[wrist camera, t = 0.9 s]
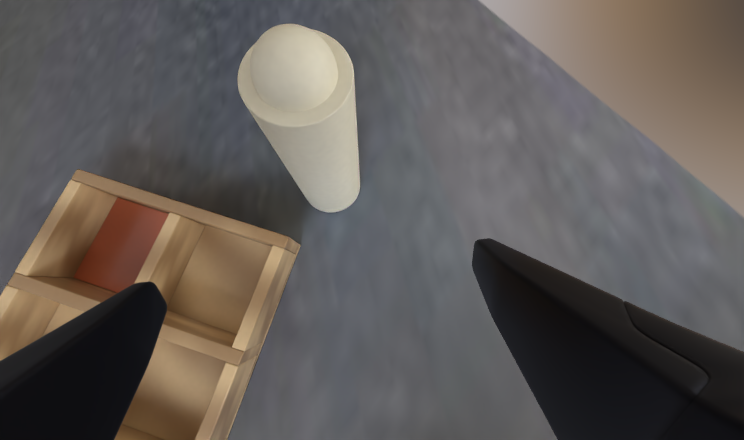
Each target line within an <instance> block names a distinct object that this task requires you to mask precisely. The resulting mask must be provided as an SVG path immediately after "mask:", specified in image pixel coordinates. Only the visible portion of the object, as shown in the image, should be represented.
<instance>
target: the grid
mask: <svg viewBox="0 0 744 440" xmlns="http://www.w3.org/2000/svg"><path fill="white" fill-rule="evenodd" d="M300 246H301V245H300V244H298V243H297V242H295V241H294V240H293V239H291V238H290V237H288V236H285V235H282V234H279V233H276V232H273V231H269V230H266V229H263V228H260V227H257V226H254V225H251V224H248V223H245V222H241V221H238V220H235V219H232V218H229V217H226V216H223V215H220V214H217V213H214V212H210V211H207V210H204V209H201V208H198V207H195V206H192V205H189V204H186V203H182V202H179V201H176V200H173V199H170V198H167V197H164V196H161V195H158V194H155V193H151V192H148V191H145V190H142V189H139V188H136V187H133V186H130V185H127V184H123V183H120V182H117V181H114V180H111V179H108V178H105V177H102V176H99V175H95V174H92V173H89V172H86V171H83V170H80V169H77V170H76V172H75V173H74V175H73V177H72V180H70V181H69V183H68V184H67V186H66V188H65V189H64V191H63V193H62V194H61V196H60V198H59V199H58V201H57V203H56V204H55V206H54V208H53V209H52V211H51V213H50V214H49V216H48V218H47V219H46V221H45V223H44V224H43V226H42V228H41V229H40V231H39V233H38V234H37V236H36V237H35V239H34V241H33V242H32V244H31V246H30V247H29V249H28V251H27V252H26V254H25V256H24V257H23V259H22V261H21V262H20V264H19V266H18V267H17V269H16V271H15V272H16V273H14V274H13V276H12V278H11V279H10V281H9V283H8V285H7V286H6V287H5V289H4V291H3V292H2V294H1V295H0V361H1V360H3V359H5V358H6V357H8V356H10V355H11V354H13V353H15V352H17V351H18V350H20V349H22V348H24V347H25V346H27V345H29V344H30V343H32V342H34V341H36V340H37V339H39V338H41V337H43V336H44V335H46V334H48V333H49V332H51V331H53V330H55V329H56V328H58V327H60V326H62V325H63V324H65V323H67V322H68V321H70V320H72V319H74V318H75V317H77V316H79V315H81V314H82V313H84V312H86V311H87V310H89V309H91V308H93V307H94V306H96V305H98V304H100V303H101V302H103V301H105V300H106V299H108V298H110V297H112V296H113V295H115V294H117V293H119V292H120V291H122V290H124V289H125V288H127V287H129V286H131V285H132V284H135V283H140V282H148V281H150V282H153V283H155V284H156V286H157V287H158V289H159V291H160V293H161V294H162V296H163V298H164V299H165V301H166V303H167V313H166V316H165V318H164V321H163V324H162V327H161V330H160V333H159V336H158V339H157V342H156V345H155V348H154V351H153V353H152V356H151V359H150V362H149V364H148V367H147V369H146V371H145V374H144V376H143V378H142V380H141V382H140V385H139V387H138V389H137V391H136V393H135V396H134V398H133V400H132V402H131V404H130V407H129V409H128V411H127V413H126V415H125V417H124V420H123V422H122V424H121V426H120V428H119V431H118V433H117V435H116V437H115V439H114V440H227V438H228V436H229V433H230V430H231V428H232V425H233V423H234V420H235V417H236V415H237V412H238V409H239V407H240V404H241V401H242V399H243V396H244V394H245V391H246V388H247V386H248V383H249V380H250V378H251V375H252V373H253V370H254V367H255V365H256V362H257V359H258V357H259V354H260V351H261V349H262V346H263V344H264V341H265V338H266V336H267V333H268V330H269V328H270V325H271V322H272V320H273V317H274V315H275V312H276V309H277V307H278V304H279V301H280V299H281V296H282V293H283V291H284V288H285V286H286V283H287V280H288V278H289V275H290V272H291V270H292V267H293V265H294V262H295V259H296V257H297V254H298V251H299V249H300Z"/></svg>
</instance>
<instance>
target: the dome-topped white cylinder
mask: <svg viewBox="0 0 744 440" xmlns="http://www.w3.org/2000/svg"><path fill="white" fill-rule="evenodd" d="M238 88H239V93H240V95H241V98H242V100H243V102H244V103H245V105H246V107H247V108H248V110H249V111H250V113H251V114H252V116H253V117H254V119H255V120H256V122H257V123H258V125H259V127H260V128H261V130H262V131H263V133H264V134H265V136H266V137H267V139H268V140H269V142H270V143H271V145H272V147H273V148H274V150H275V151H276V153H277V154H278V156H279V157H280V159H281V160H282V162H283V163H284V165H285V167H286V168H287V170H288V171H289V173H290V174H291V176H292V177H293V179H294V180H295V182H296V183H297V185H298V187H299V188H300V190H301V191H302V193H303V194H304V196H305V197H306V199H307V200H308V202H309V203H310V204H311V205H312V206H313V207H315V208H316V209H318V210H320V211H324V212H338V211H342V210H344V209H346V208H348V207H349V206H350V205H351V204H352V203H353V202H354V201H355V200H356V198H357V196H358V194H359V191H360V173H359V155H358V137H357V119H356V102H355V84H354V70H353V65H352V62H351V59H350V57H349V55H348V54H347V52H346V51H345V49H344V48H343V47H342V46H341V45H340V44H339V43H338V42H337V41H336V40H335V39H333V38H332V37H330V36H328V35H326V34H324V33H322V32H319V31H316V30H312V29H308V28H306V27H304V26H301V25H297V24H282V25H278V26H275V27H273V28H271V29H269V30H267V31H266V32H265V33H264V34H263V35H262V36H261V37H260V38H259V39H258V41H257V42H256V43H255V44H254V45H253V46H252V47H251V48H250V49H249V50H248V52H247V53H246V54H245V56H244V58H243V59H242V62H241V64H240V67H239V71H238Z"/></svg>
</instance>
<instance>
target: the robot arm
mask: <svg viewBox="0 0 744 440" xmlns="http://www.w3.org/2000/svg"><path fill="white" fill-rule="evenodd" d="M472 267H473V271H474V274H475V276H476V279H477V281H478V284H479V286H480V289H481V291H482V294H483V296H484V299H485V301H486V304H487V306H488V309H489V311H490V313H491V316H492V318H493V320H494V322H495V324H496V326H497V327H498V329H499V331H500V333H501V335H502V337H503V339H504V340H505V342H506V344H507V346H508V348H509V350H510V352H511V353H512V355H513V357H514V359H515V361H516V363H517V365H518V366H519V368H520V370H521V372H522V374H523V376H524V378H525V379H526V381H527V383H528V385H529V387H530V389H531V391H532V392H533V394H534V396H535V398H536V400H537V402H538V404H539V405H540V407H541V409H542V411H543V413H544V415H545V417H546V418H547V420H548V422H549V424H550V426H551V428H552V430H553V431H554V433H555V435H556V437H557V439H558V440H744V352H742V351H740V350H737V349H735V348H733V347H730V346H728V345H725V344H723V343H720V342H718V341H715V340H713V339H711V338H708V337H706V336H703V335H701V334H699V333H696V332H694V331H691V330H689V329H687V328H684V327H682V326H679V325H677V324H675V323H672V322H670V321H668V320H666V319H664V318H661V317H659V316H657V315H655V314H652V313H650V312H648V311H646V310H644V309H641V308H639V307H637V306H635V305H633V304H631V303H629V302H626V301H624V302H623V301H622V299H620V298H618V297H616V296H613V295H611V294H609V293H607V292H605V291H603V290H600V289H598V288H596V287H594V286H592V285H590V284H588V283H585V282H583V281H581V280H579V279H577V278H575V277H572V276H570V275H568V274H566V273H564V272H562V271H560V270H557V269H555V268H553V267H551V266H549V265H547V264H544V263H542V262H540V261H538V260H536V259H534V258H532V257H529V256H527V255H525V254H523V253H521V252H519V251H516V250H514V249H512V248H510V247H508V246H506V245H504V244H501V243H499V242H497V241H495V240H493V239H490V238H488V239H480V240H477V241H475V244H474V251H473V259H472ZM166 313H167V303H166V301H165V299H164V298H163V296H162V294H161V293H160V291H159V289H158V287H157V286H156V284H155V283H153V282H150V281H148V282H140V283H135V284H132V285H131V286H129V287H127V288H125V289H124V290H122V291H120V292H119V293H117V294H115V295H113V296H112V297H110V298H108V299H106V300H105V301H103V302H101V303H100V304H98V305H96V306H94V307H93V308H91V309H89V310H87V311H86V312H84V313H82V314H81V315H79V316H77V317H75V318H74V319H72V320H70V321H68V322H67V323H65V324H63V325H62V326H60V327H58V328H56V329H55V330H53V331H51V332H49V333H48V334H46V335H44V336H43V337H41V338H39V339H37V340H36V341H34V342H32V343H30V344H29V345H27V346H25V347H24V348H22V349H20V350H18V351H17V352H15V353H13V354H11V355H10V356H8V357H6V358H5V359H3V360H1V361H0V440H114V439H115V437H116V435H117V433H118V431H119V428H120V426H121V424H122V422H123V420H124V417H125V415H126V413H127V411H128V409H129V407H130V404H131V402H132V400H133V398H134V396H135V393H136V391H137V389H138V387H139V385H140V382H141V380H142V378H143V376H144V374H145V371H146V369H147V367H148V364H149V362H150V359H151V356H152V353H153V351H154V348H155V345H156V342H157V339H158V336H159V333H160V330H161V327H162V324H163V321H164V318H165V316H166Z"/></svg>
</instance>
